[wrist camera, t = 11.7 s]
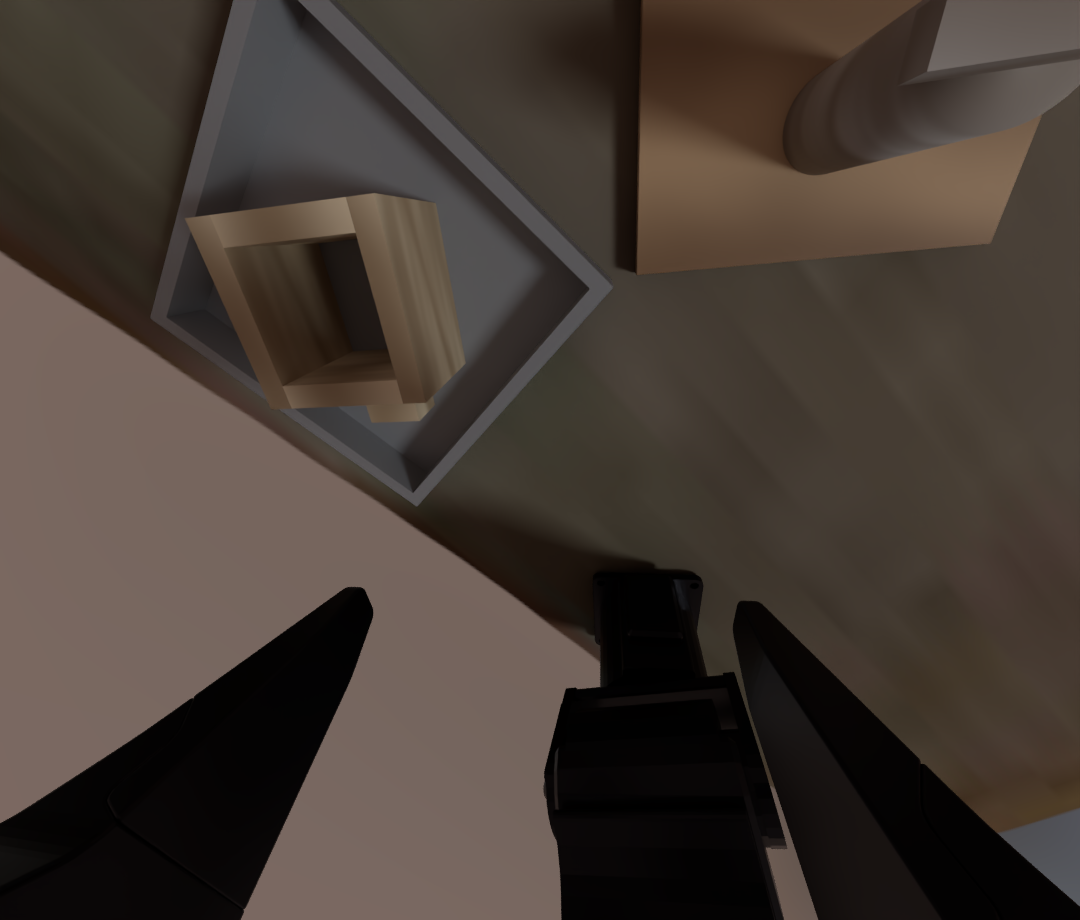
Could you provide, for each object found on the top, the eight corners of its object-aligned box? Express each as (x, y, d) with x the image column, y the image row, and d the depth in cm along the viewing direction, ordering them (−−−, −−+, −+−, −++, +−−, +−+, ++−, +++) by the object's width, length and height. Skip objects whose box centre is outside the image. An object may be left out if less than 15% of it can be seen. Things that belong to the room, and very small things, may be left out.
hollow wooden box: (435, 202, 16) (374, 193, 11) (473, 403, 20) (438, 450, 16) (291, 221, 17) (184, 218, 12) (355, 407, 21) (291, 454, 17)
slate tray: (611, 279, 17) (613, 287, 15) (433, 480, 23) (416, 506, 21) (308, -27, 13) (253, -76, 11) (198, 308, 20) (150, 318, 18)
